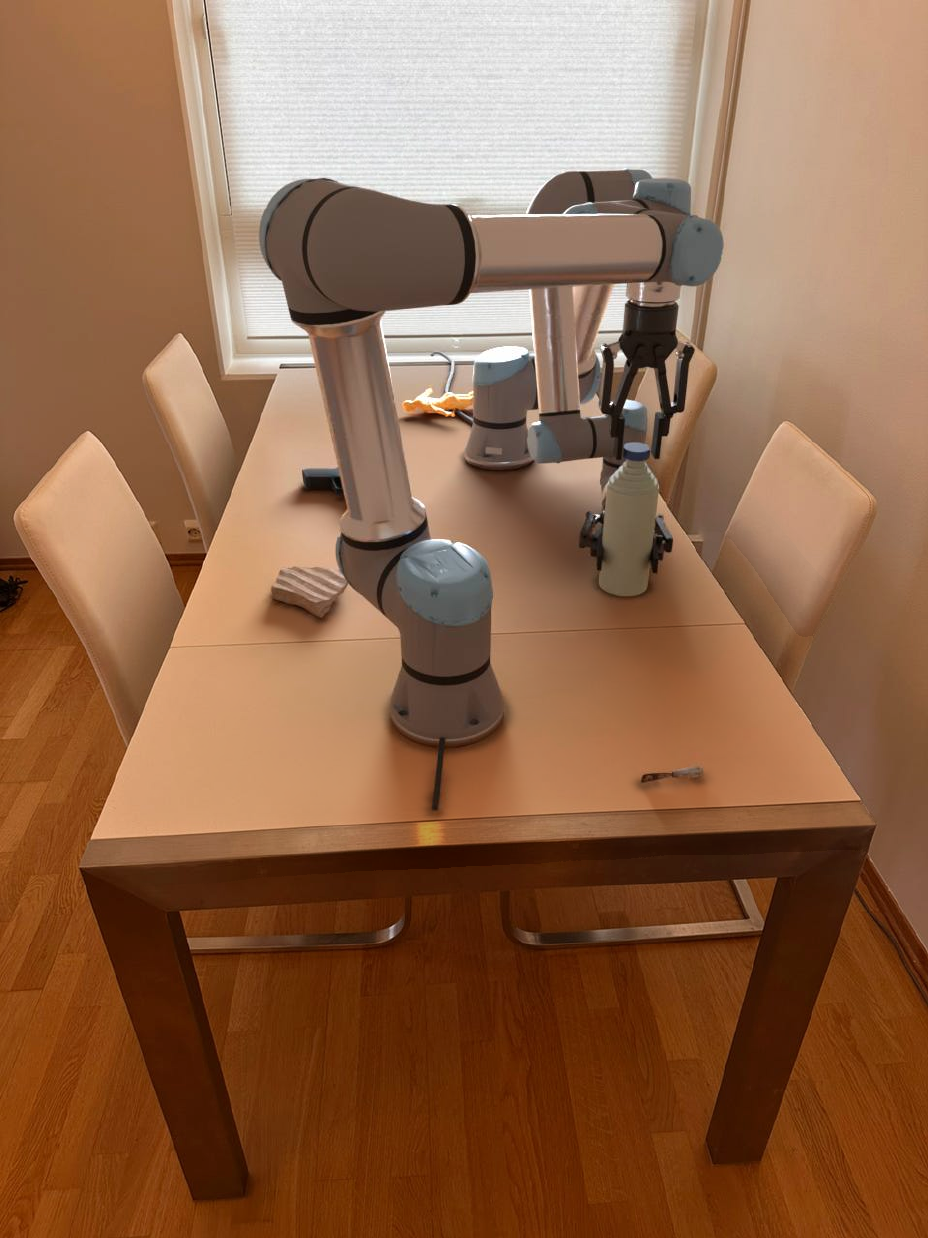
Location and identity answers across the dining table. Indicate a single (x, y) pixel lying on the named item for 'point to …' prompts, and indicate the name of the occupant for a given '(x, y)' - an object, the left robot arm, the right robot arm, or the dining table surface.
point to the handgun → (323, 479)
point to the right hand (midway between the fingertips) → (627, 564)
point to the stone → (309, 587)
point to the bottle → (628, 529)
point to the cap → (636, 451)
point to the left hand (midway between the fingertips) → (636, 455)
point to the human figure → (439, 403)
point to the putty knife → (674, 774)
